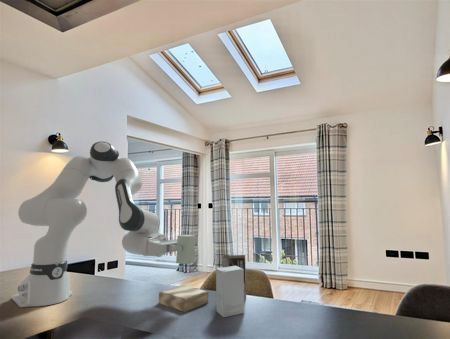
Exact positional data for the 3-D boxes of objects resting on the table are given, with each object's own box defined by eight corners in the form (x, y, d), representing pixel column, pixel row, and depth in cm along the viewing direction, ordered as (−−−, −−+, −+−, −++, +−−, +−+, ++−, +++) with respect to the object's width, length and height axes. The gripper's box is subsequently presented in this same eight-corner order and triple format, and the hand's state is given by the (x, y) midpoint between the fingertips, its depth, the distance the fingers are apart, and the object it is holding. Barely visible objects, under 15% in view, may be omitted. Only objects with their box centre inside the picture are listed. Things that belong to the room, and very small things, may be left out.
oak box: (158, 304, 110) (159, 291, 110) (182, 296, 119) (182, 284, 119) (184, 313, 101) (185, 299, 101) (208, 303, 110) (208, 291, 111)
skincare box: (236, 308, 104) (236, 265, 106) (245, 314, 99) (244, 268, 100) (215, 312, 101) (215, 267, 102) (222, 318, 95) (222, 270, 97)
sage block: (176, 263, 110) (177, 235, 111) (183, 261, 114) (184, 234, 116) (187, 264, 108) (188, 236, 109) (194, 262, 112) (195, 235, 113)
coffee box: (246, 296, 118) (246, 254, 120) (245, 301, 111) (245, 257, 113) (223, 295, 119) (223, 254, 121) (221, 300, 112) (221, 257, 114)
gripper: (172, 250, 126) (200, 253, 120) (139, 256, 108) (170, 259, 102) (173, 235, 127) (200, 237, 121) (140, 238, 109) (171, 241, 103)
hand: (186, 247), depth 111 cm, fingers closed on sage block, 5 cm apart
